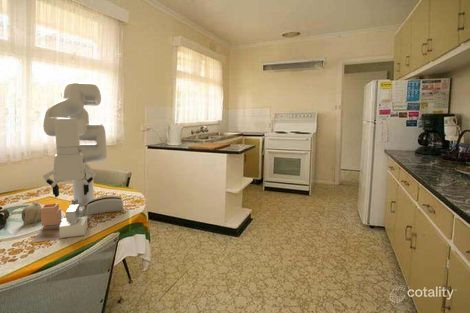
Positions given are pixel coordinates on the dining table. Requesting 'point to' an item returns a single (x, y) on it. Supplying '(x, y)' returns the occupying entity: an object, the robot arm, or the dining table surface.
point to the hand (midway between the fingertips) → (71, 195)
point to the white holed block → (73, 227)
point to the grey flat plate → (51, 234)
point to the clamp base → (82, 214)
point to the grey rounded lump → (31, 213)
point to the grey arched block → (104, 205)
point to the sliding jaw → (50, 214)
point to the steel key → (72, 213)
